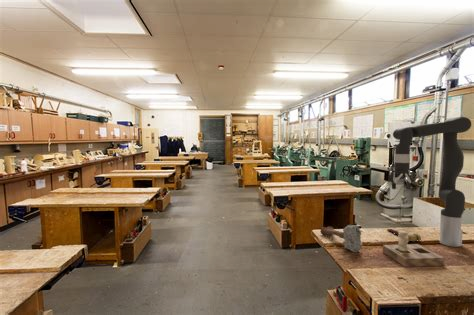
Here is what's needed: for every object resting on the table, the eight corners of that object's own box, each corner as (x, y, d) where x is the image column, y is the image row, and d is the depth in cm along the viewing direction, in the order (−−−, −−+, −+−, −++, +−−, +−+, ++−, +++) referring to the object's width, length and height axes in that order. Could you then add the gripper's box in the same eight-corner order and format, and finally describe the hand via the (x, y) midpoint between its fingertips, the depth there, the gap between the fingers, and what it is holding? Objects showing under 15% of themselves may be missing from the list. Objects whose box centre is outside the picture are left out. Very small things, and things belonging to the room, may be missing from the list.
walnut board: (417, 251, 132) (417, 243, 132) (443, 265, 116) (444, 257, 116) (382, 252, 131) (383, 244, 130) (404, 266, 115) (405, 258, 115)
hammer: (334, 237, 159) (369, 250, 130) (321, 242, 156) (354, 256, 127) (328, 216, 159) (362, 223, 130) (315, 220, 157) (347, 229, 128)
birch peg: (403, 256, 125) (404, 230, 125) (409, 260, 121) (410, 233, 120) (395, 256, 125) (396, 230, 124) (401, 260, 121) (402, 233, 120)
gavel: (380, 226, 163) (393, 225, 165) (380, 233, 163) (393, 232, 165) (406, 236, 143) (421, 235, 144) (407, 243, 143) (421, 242, 144)
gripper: (408, 161, 143) (407, 187, 144) (385, 161, 142) (384, 188, 143) (418, 162, 136) (417, 190, 137) (394, 162, 135) (393, 190, 136)
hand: (400, 189), depth 140 cm, fingers open, 8 cm apart
